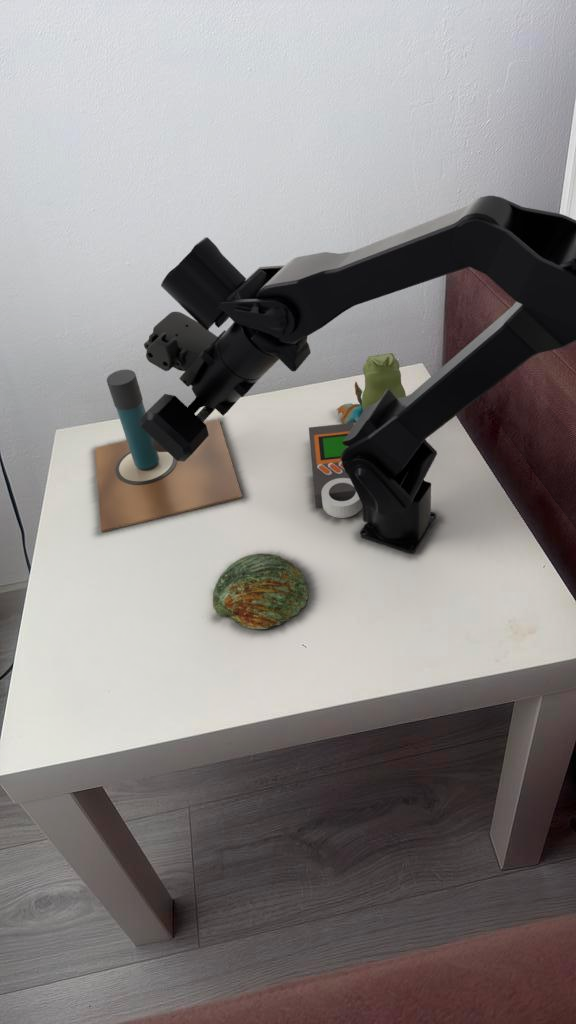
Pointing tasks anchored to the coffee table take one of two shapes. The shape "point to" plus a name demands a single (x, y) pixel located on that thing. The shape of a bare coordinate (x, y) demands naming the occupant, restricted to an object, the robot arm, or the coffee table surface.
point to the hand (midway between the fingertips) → (177, 425)
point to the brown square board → (163, 482)
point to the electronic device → (332, 471)
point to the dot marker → (132, 417)
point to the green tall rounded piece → (381, 378)
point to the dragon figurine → (352, 408)
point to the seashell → (260, 591)
